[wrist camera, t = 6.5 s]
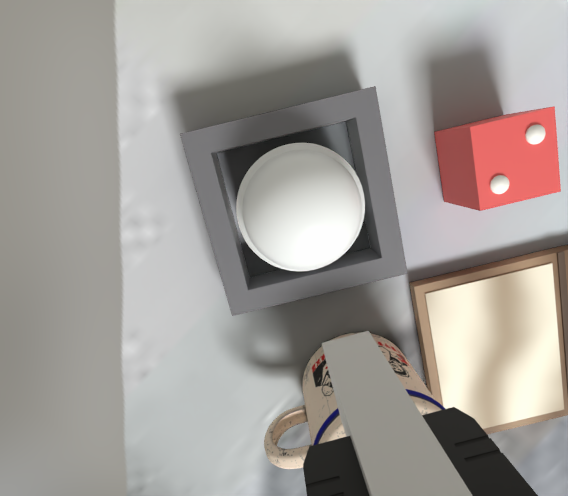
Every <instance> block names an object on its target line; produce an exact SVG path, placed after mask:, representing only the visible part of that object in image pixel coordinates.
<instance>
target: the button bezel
mask: <svg viewBox="0 0 568 496" xmlns="http://www.w3.org/2000/svg"><path fill="white" fill-rule="evenodd" d="M341 122H346V123H347V128H348V133H349V138H350V144H351V149H352V154H353V159H354V165H355V170H356V174H357V176H358V178H359V180H360V183H361V185H362V189H363V193H364V199H365V213H364V217H365V222H366V227H367V233H368V238H369V243H370V248H368V249H364V250H360V251H355V252H351V253H347V254H343V255H342V256H341V257H340V258H338V259H337V260H335V261H334V262H332V263H331V264H328V265H326V266H324V267H321V268H318V269H315V270H310V271H289V270H285V269H281V270H277V271H273V272H269V273H265V274H260V275H256V276H252V277H249V273H248V269H247V265H246V262H245V258H244V254H243V251H242V247H241V243H240V239H239V236H238V232H237V228H236V224H235V221H234V217H233V213H232V210H231V206H230V202H229V198H228V195H227V191H226V187H225V184H224V180H223V176H222V172H221V169H220V165H219V161H218V158H217V154H216V153H218V152H222V151H227V150H231V149H235V148H239V147H243V146H247V145H251V144H255V143H259V142H263V141H268V140H272V139H276V138H280V137H284V136H288V135H292V134H296V133H300V132H305V131H309V130H313V129H317V128H321V127H325V126H329V125H333V124H337V123H341ZM180 136H181V139H182V143H183V146H184V150H185V153H186V157H187V160H188V164H189V167H190V171H191V174H192V178H193V181H194V185H195V188H196V192H197V195H198V199H199V202H200V206H201V209H202V212H203V216H204V219H205V223H206V226H207V230H208V233H209V237H210V240H211V244H212V247H213V251H214V254H215V258H216V261H217V265H218V268H219V272H220V275H221V279H222V282H223V286H224V289H225V293H226V296H227V300H228V303H229V307H230V310H231V314H232V316H234V315H238V314H242V313H247V312H251V311H255V310H259V309H263V308H267V307H271V306H276V305H280V304H284V303H288V302H292V301H296V300H300V299H305V298H309V297H313V296H317V295H321V294H325V293H329V292H334V291H338V290H342V289H346V288H350V287H354V286H358V285H363V284H367V283H371V282H375V281H379V280H383V279H387V278H391V277H396V276H400V275H404V274H407V268H406V262H405V256H404V250H403V244H402V239H401V233H400V227H399V221H398V215H397V209H396V203H395V198H394V192H393V186H392V180H391V174H390V168H389V163H388V157H387V151H386V145H385V139H384V133H383V127H382V122H381V116H380V110H379V104H378V98H377V92H376V87H375V86H374V87H370V88H366V89H362V90H358V91H354V92H350V93H345V94H341V95H337V96H333V97H329V98H325V99H321V100H317V101H313V102H309V103H304V104H300V105H296V106H292V107H288V108H284V109H280V110H276V111H272V112H268V113H263V114H259V115H255V116H251V117H247V118H243V119H239V120H235V121H231V122H227V123H222V124H218V125H214V126H210V127H206V128H202V129H198V130H194V131H190V132H186V133H182V134H180Z"/></svg>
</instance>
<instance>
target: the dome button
mask: <svg viewBox="0 0 568 496" xmlns="http://www.w3.org/2000/svg"><path fill="white" fill-rule="evenodd" d="M236 212H237V220H238V225H239V228H240V231H241V233H242V235H243V237H244V239H245V241H246V243H247V244H248V246H249V247H250V248H251V249H252V250H253V251H254V253H255V254H257V255H258V256H259V257H260V258H261V259H263V260H264V261H266V262H267V263H269V264H271V265H273V266H275V267H278V268H281V269H285V270H289V271H310V270H315V269H318V268H321V267H324V266H326V265H328V264H331V263H332V262H334V261H335V260H337V259H338V258H340V257H341V256H342V255H343V254H344V253H345V252H346V251H347V250H348V249H349V248H350V247H351V245H352V244H353V243H354V241H355V240H356V238H357V236H358V234H359V232H360V229H361V227H362V223H363V220H364V213H365V199H364V193H363V189H362V185H361V183H360V180H359V178H358V176H357V174H356V173H355V171H354V170H353V168H352V167H351V166H350V164H349V163H348V162H347V161H346V160H345V159H344V158H342V157H341V156H340V155H338V154H337V153H336V152H334V151H332V150H330V149H328V148H326V147H323V146H321V145H316V144H312V143H292V144H286V145H283V146H280V147H277V148H275V149H273V150H271V151H269V152H267V153H266V154H264V155H263V156H262V157H260V158H259V159H258V160H257V161H256V162H255V163H254V164H253V165H252V166H251V167H250V169H249V170H248V172H247V173H246V175H245V177H244V179H243V180H242V182H241V185H240V188H239V191H238V196H237V204H236Z"/></svg>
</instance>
